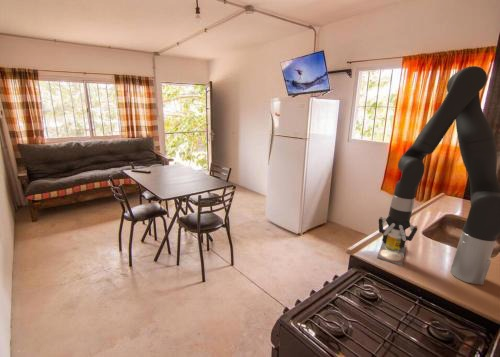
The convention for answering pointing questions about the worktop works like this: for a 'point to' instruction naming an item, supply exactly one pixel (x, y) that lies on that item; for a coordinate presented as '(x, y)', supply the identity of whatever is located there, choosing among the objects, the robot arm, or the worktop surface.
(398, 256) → the grey rectangular board
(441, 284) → the worktop surface
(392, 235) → the supplement bottle
